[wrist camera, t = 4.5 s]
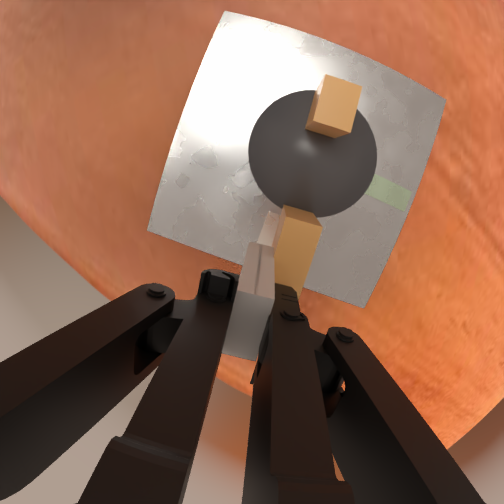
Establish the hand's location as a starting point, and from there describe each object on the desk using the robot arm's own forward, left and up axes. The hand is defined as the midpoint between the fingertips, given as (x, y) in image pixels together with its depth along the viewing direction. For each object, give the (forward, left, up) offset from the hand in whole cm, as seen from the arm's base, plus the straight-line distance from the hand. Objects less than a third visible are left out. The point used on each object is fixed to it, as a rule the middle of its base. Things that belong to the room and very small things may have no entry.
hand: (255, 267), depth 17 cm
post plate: (-7, +1, -12) cm, 14 cm away
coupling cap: (-4, +1, -6) cm, 7 cm away
